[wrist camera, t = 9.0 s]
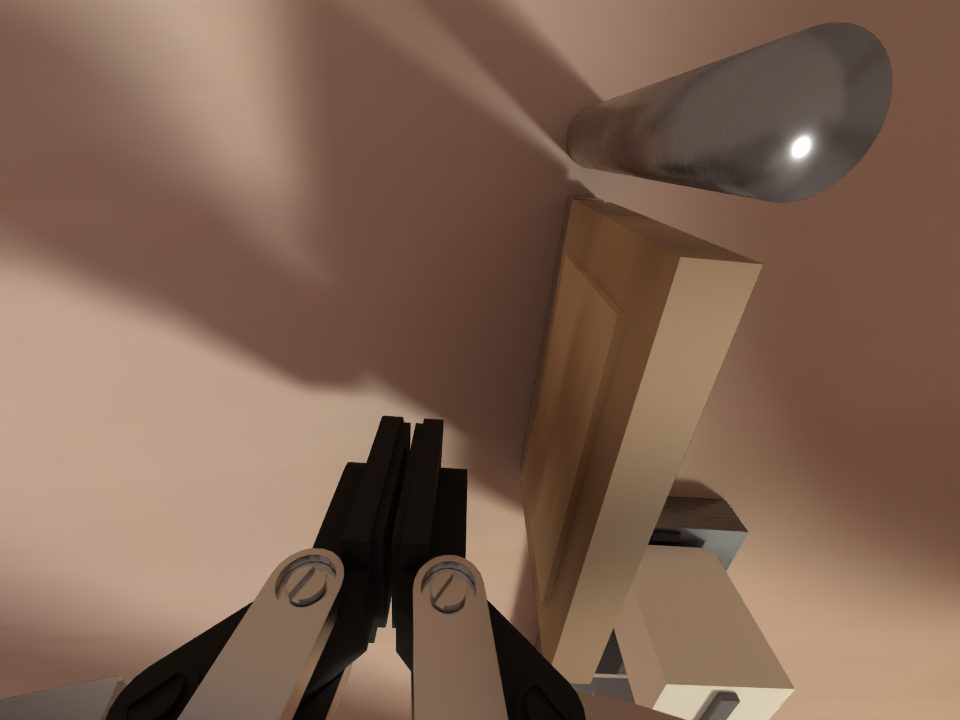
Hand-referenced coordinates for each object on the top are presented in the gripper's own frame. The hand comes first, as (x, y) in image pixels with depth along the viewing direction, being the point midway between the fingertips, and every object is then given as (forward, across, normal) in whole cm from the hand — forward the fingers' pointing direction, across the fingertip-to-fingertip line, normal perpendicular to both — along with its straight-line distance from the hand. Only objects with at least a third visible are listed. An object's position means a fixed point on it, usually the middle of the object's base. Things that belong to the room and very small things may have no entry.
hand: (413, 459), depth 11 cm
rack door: (+2, -4, -2) cm, 5 cm away
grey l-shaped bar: (+3, -4, -3) cm, 6 cm away
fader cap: (+1, -9, +6) cm, 11 cm away
